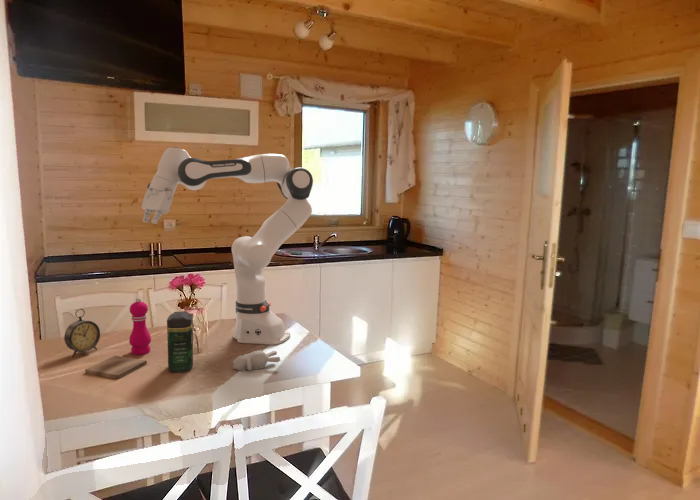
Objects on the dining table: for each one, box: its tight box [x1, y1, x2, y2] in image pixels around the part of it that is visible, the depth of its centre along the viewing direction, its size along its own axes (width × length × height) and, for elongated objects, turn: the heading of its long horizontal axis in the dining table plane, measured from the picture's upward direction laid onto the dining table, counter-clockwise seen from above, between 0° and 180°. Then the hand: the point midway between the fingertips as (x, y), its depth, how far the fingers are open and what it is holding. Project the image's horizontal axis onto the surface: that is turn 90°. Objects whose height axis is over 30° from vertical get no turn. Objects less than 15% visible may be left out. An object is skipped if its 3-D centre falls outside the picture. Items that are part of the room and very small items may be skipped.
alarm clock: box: [63, 308, 101, 358], centre depth 178 cm, size 11×5×16 cm, turn 148°
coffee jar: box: [166, 311, 194, 373], centre depth 167 cm, size 10×8×19 cm
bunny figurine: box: [232, 349, 281, 372], centre depth 170 cm, size 10×5×15 cm
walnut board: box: [84, 355, 148, 380], centre depth 167 cm, size 13×13×1 cm
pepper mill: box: [128, 297, 152, 356], centre depth 180 cm, size 7×7×20 cm
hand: (149, 222), depth 187 cm, fingers open, 8 cm apart
